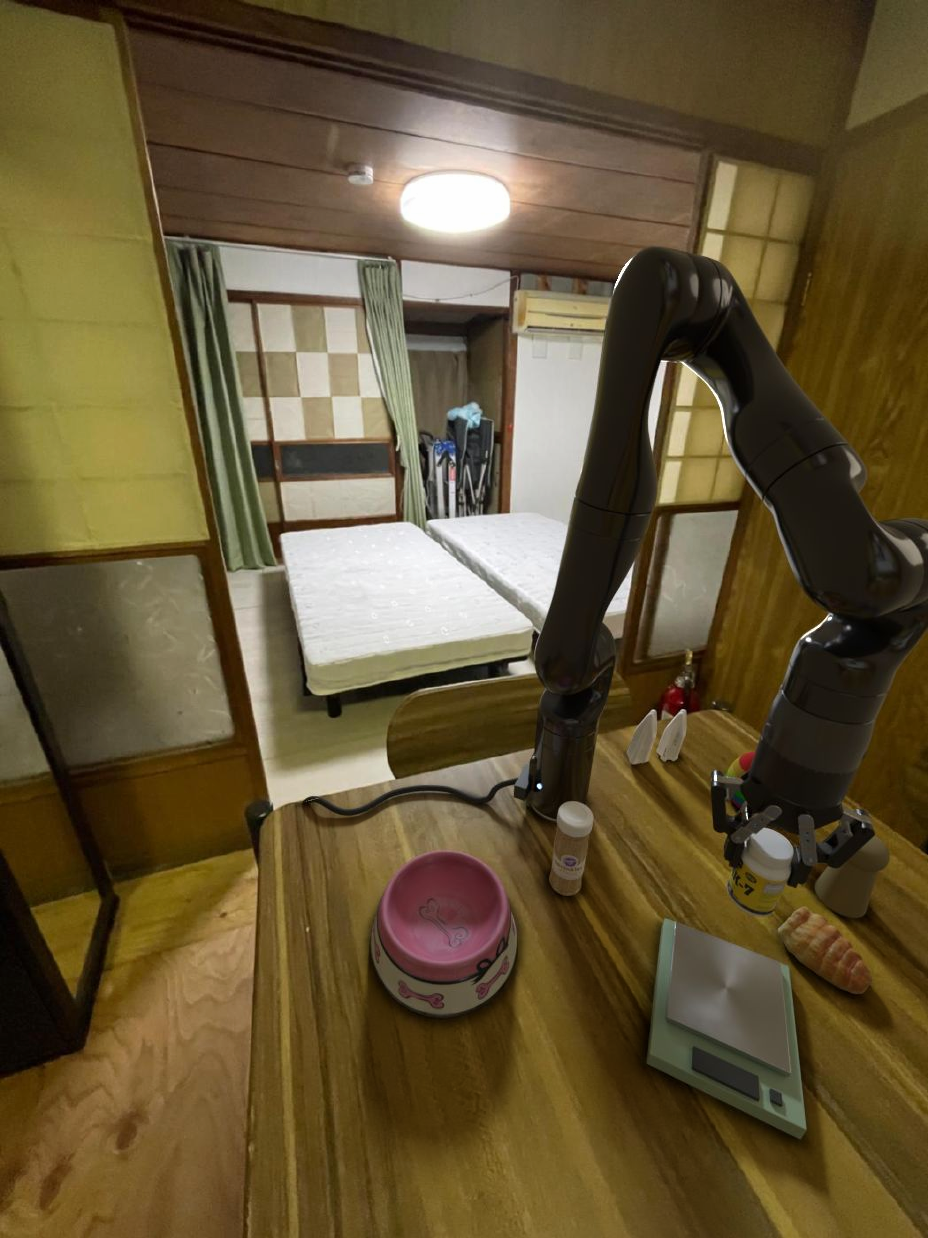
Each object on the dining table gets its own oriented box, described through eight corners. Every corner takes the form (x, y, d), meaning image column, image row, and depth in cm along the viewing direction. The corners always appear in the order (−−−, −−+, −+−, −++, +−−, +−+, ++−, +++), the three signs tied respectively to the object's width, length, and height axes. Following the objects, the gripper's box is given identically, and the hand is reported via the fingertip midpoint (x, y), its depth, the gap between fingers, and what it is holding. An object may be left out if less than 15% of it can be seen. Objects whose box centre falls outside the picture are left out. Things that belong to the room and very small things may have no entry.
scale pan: (665, 1021, 55) (667, 1016, 55) (674, 925, 64) (675, 921, 64) (788, 1077, 51) (791, 1073, 50) (778, 966, 60) (780, 962, 60)
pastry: (878, 977, 61) (890, 958, 60) (849, 1010, 58) (861, 991, 56) (798, 913, 68) (807, 894, 67) (769, 939, 65) (777, 920, 64)
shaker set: (630, 772, 92) (640, 723, 87) (617, 757, 95) (626, 708, 91) (686, 759, 95) (699, 711, 90) (671, 745, 99) (683, 697, 94)
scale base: (646, 1064, 53) (650, 1051, 52) (661, 927, 66) (665, 915, 65) (800, 1140, 48) (808, 1128, 47) (784, 976, 61) (790, 963, 60)
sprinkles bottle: (552, 898, 70) (562, 827, 64) (546, 868, 74) (554, 799, 68) (585, 897, 70) (598, 826, 64) (577, 867, 74) (588, 799, 68)
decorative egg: (726, 776, 91) (740, 732, 87) (778, 797, 87) (796, 751, 83) (716, 805, 85) (730, 758, 81) (771, 828, 81) (789, 781, 77)
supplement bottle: (717, 879, 57) (735, 825, 53) (757, 876, 58) (778, 822, 54) (742, 920, 53) (764, 865, 49) (784, 917, 53) (809, 861, 50)
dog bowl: (448, 849, 77) (448, 816, 74) (547, 938, 65) (552, 903, 62) (341, 934, 65) (336, 898, 62) (439, 1061, 53) (439, 1026, 50)
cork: (875, 922, 67) (908, 865, 63) (825, 913, 68) (853, 856, 64) (853, 882, 73) (883, 826, 68) (807, 874, 74) (832, 818, 69)
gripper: (896, 738, 46) (834, 867, 54) (723, 699, 52) (688, 821, 59) (923, 794, 40) (849, 931, 48) (723, 744, 45) (684, 874, 53)
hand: (760, 870), depth 53 cm, fingers closed on supplement bottle, 4 cm apart
